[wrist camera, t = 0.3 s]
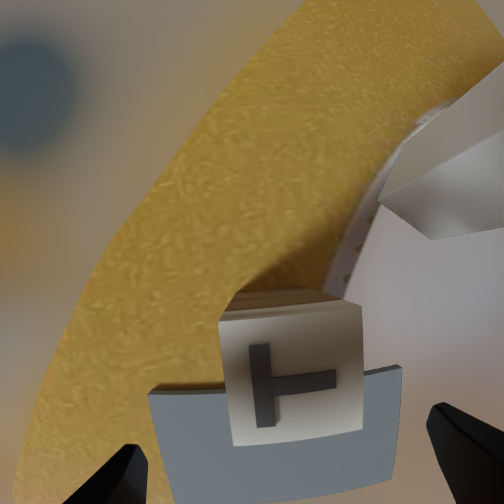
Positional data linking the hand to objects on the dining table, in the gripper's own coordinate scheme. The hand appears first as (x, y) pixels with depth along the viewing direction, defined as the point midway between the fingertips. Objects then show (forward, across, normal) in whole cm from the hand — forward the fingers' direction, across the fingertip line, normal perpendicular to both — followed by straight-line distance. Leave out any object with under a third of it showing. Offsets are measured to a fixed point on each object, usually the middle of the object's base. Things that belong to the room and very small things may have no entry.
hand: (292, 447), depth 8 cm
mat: (+11, 0, +14) cm, 18 cm away
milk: (+18, -14, -4) cm, 23 cm away
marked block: (+15, -1, +4) cm, 15 cm away
